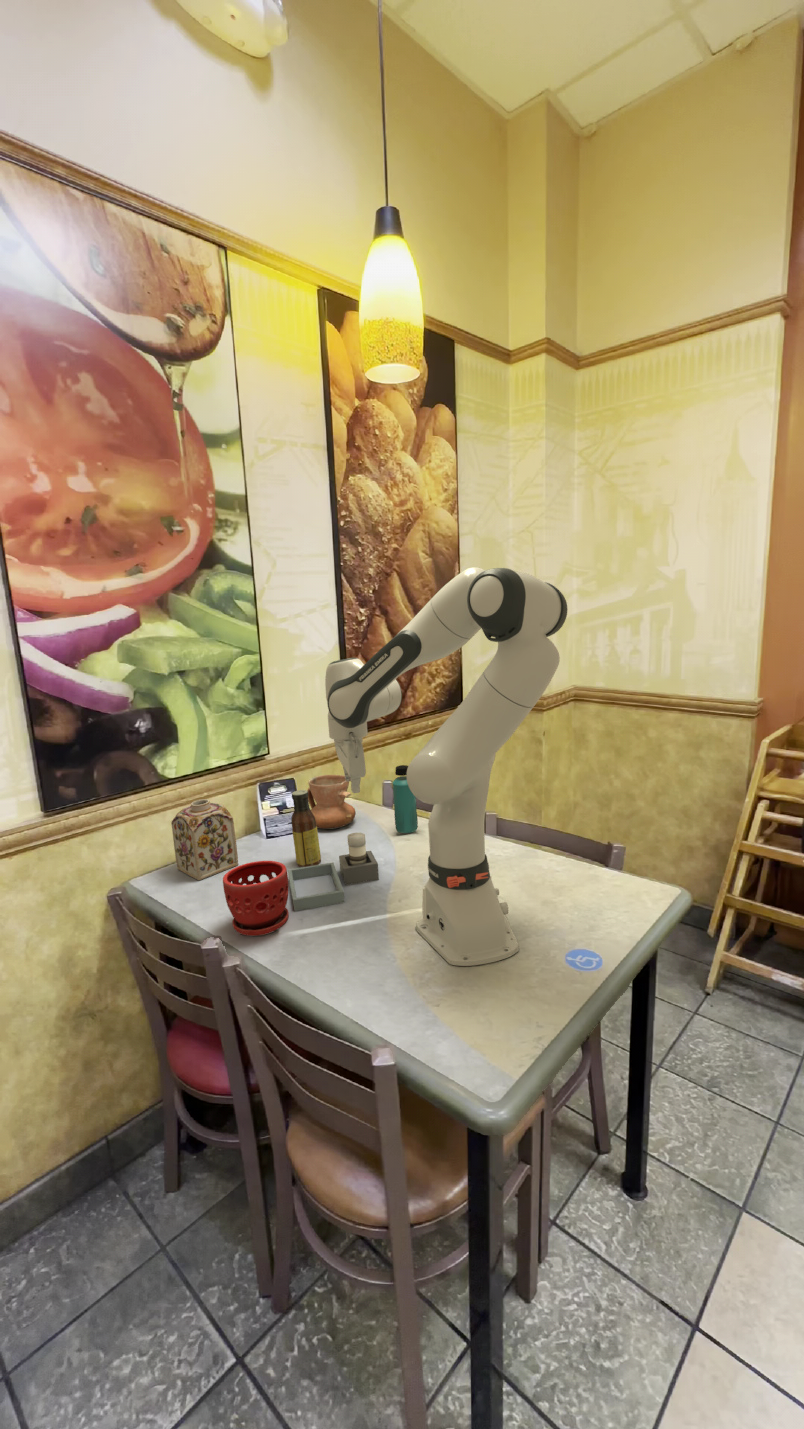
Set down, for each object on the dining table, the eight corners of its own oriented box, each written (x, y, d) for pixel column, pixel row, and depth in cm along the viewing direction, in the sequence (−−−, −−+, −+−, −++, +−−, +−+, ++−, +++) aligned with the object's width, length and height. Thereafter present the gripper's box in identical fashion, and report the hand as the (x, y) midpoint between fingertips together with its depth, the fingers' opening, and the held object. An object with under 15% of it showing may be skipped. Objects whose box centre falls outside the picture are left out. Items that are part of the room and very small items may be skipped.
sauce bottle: (323, 860, 158) (317, 787, 155) (318, 871, 152) (311, 795, 148) (299, 861, 159) (292, 788, 155) (292, 871, 153) (285, 796, 149)
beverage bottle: (422, 835, 171) (418, 767, 167) (400, 840, 169) (395, 770, 165) (413, 828, 177) (409, 761, 173) (391, 832, 175) (387, 765, 171)
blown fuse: (369, 877, 145) (366, 837, 143) (352, 880, 144) (349, 840, 142) (366, 870, 149) (363, 831, 147) (349, 872, 148) (346, 834, 146)
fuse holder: (379, 883, 144) (377, 863, 143) (345, 889, 142) (344, 869, 141) (372, 869, 151) (370, 850, 151) (340, 874, 150) (338, 855, 149)
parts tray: (345, 906, 134) (343, 891, 133) (294, 915, 131) (293, 900, 131) (334, 875, 149) (333, 862, 149) (289, 883, 147) (287, 869, 146)
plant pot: (303, 913, 132) (298, 861, 130) (268, 946, 120) (262, 889, 118) (253, 905, 137) (247, 855, 135) (215, 935, 125) (208, 881, 123)
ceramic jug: (369, 822, 184) (365, 776, 181) (333, 837, 173) (329, 789, 171) (329, 812, 196) (325, 769, 193) (293, 825, 185) (289, 780, 183)
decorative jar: (240, 865, 158) (232, 799, 155) (198, 882, 150) (189, 813, 147) (216, 854, 167) (208, 791, 163) (176, 869, 158) (167, 803, 155)
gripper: (370, 736, 131) (374, 797, 133) (354, 719, 150) (358, 773, 153) (341, 739, 129) (345, 801, 132) (328, 722, 149) (333, 776, 151)
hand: (352, 786), depth 142 cm, fingers open, 8 cm apart
